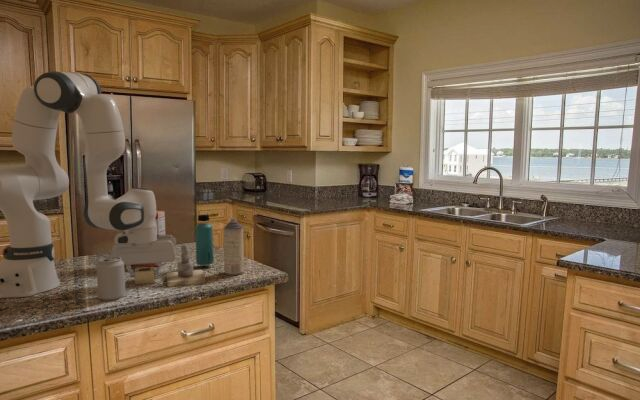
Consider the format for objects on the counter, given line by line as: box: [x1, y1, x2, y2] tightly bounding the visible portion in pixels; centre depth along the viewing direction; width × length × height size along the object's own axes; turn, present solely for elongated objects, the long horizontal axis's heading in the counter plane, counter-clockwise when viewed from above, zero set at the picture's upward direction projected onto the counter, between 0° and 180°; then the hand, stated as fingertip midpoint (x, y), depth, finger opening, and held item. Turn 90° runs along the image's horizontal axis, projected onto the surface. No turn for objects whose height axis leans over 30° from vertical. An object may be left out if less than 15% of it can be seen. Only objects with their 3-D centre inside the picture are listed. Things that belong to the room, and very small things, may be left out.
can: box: [96, 256, 126, 302], centre depth 131 cm, size 8×8×12 cm
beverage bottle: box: [195, 214, 215, 266], centre depth 166 cm, size 6×7×20 cm
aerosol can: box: [223, 217, 245, 277], centre depth 158 cm, size 7×7×20 cm
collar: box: [134, 266, 156, 285], centre depth 148 cm, size 6×6×4 cm
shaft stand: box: [166, 244, 207, 288], centre depth 149 cm, size 12×12×12 cm
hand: (144, 276), depth 148 cm, fingers closed on collar, 6 cm apart
